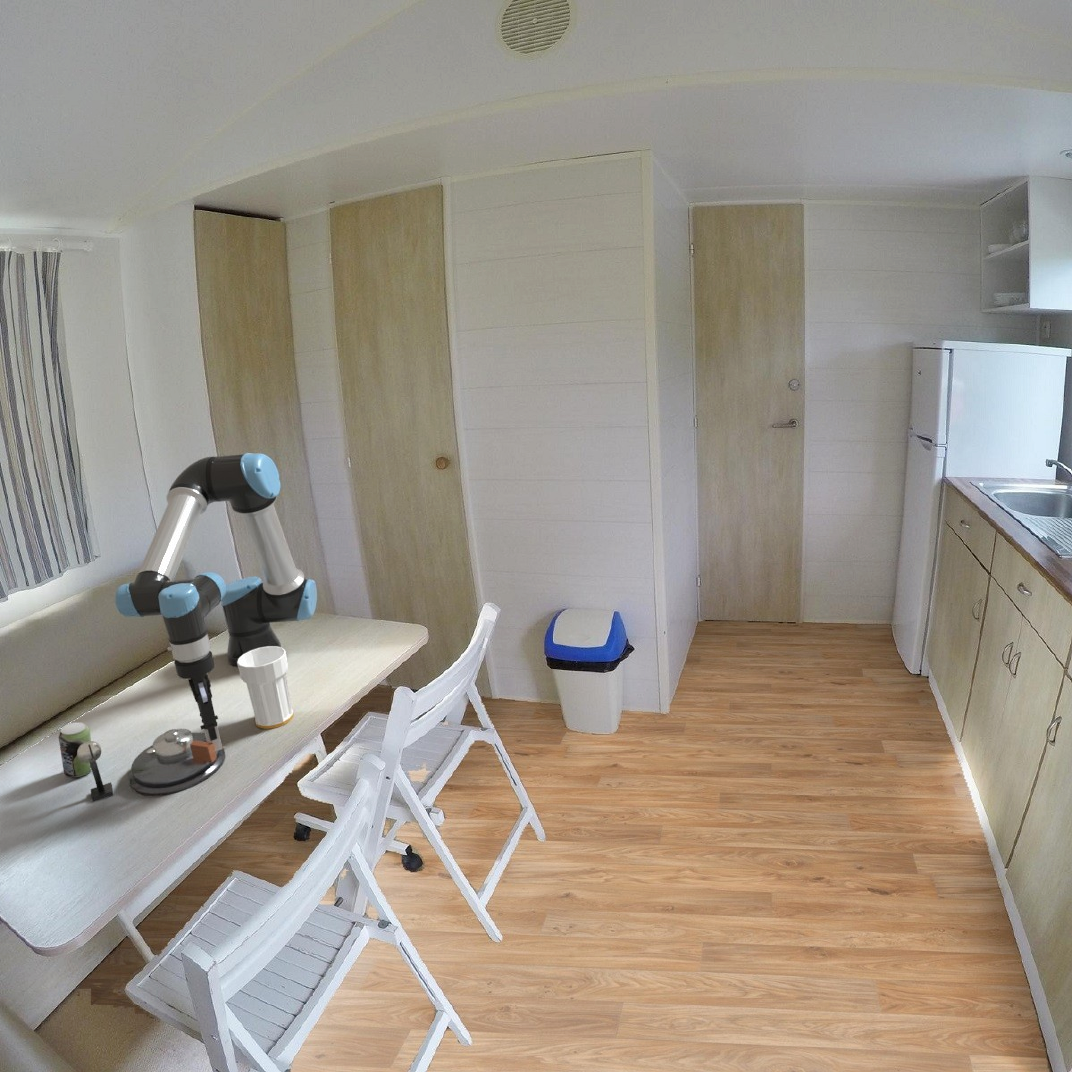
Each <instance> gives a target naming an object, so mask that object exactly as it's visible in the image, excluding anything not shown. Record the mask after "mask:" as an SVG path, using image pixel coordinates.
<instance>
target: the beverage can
mask: <svg viewBox="0 0 1072 1072" xmlns="http://www.w3.org/2000/svg"><path fill="white" fill-rule="evenodd" d="M90 731H91V730H90V728H89V727H88V726H87V724H86V723H84V722H82V721H81V722H80V721H79V722H78V721H77V722H76V721H75V722H70V723H67V724H66V725H63V726H62V727H61V729H60V732H59V734H58V741H59V749H60V755H61V761H62V762H61V763H62V768H63V773H64V775H65V776H68V777H70V778H81V777H83V776H86V775H87V774H89V773H90V772H92V769H91V766H90V763H83V762H81V761H80V760H79V759H78V756H77V751H78V748H79V747H80V746H81V745H82V744H83V743H85V742H89V741H92V739H91V738H92V737H91V732H90Z"/></svg>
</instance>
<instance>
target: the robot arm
mask: <svg viewBox="0 0 1072 1072" xmlns="http://www.w3.org/2000/svg"><path fill="white" fill-rule="evenodd" d="M280 491H281V480H280V473H279V470H278V467H277V466H276V464H275V462H274V461H273V459H271V457H269V456H268V455H266V454H264V453H252V452H246V453H244V454H230V455H221V456H219V455H218V456H206V457H203V458H201V459H198V460H197V461H194V462H193V463H192V464H190V465H189V466H188V467H186V468H185V469H184V470H182V472H181V473H180V474H178V476H177V477H176V479H175V480H174V481H173V483H172V484H171V486H170V488H169V490H168V491H167V495H166V502H167V506H166V508H165V510H164V513H163V515H162V517H161V520H160V522H159V525H158V526H157V529H156V531H155V533H154V535H153V538H152V541H151V543H150V545H149V548H148V550H147V552H146V555H145V556H144V558H143V560H142V563H141V567H140V568H139V571H138V573H137V574H136V577H135V579H134V581H133V582H128V583H125V584H122V585H121V586H119V587H118V588H117V590H116V592H115V596H114V602H115V608H116V610H117V611H118V612H119V614H121V615H122V616H124V617H125V618H143V617H149V616H152V617H153V616H162V619H163V623H164V627H165V630H166V634H167V638H168V642H169V646H167V651H169V652H170V651H171V654H172V657H173V659H174V662H173V663H174V666H175V671H176V673H177V674H176V675H177V677H179V678H180V679H182V680H183V679H184V680H187V681H188V684H189V687H190V691H191V692H192V695H193V698H194V701H195V702H196V703H197V707H198V712H199V717H200V718H201V723H202V725H200V729H201V731H204V732H203V733H205V736H206V740H207V742H209V743H213V745H214V749H215V751H218V750H221V749H223V748H224V746H223V744H222V740H221V739H222V738H221V737H220V736H221V735H220V732H219V728H218V721H217V720H219V717H218V715H216V713H215V709H214V705H213V701H212V698H213V694H212V689H211V687H212V684H211V681H210V678H209V676H208V674H210V673H211V672H212V671H213V670H214V669H215V665H216V664H215V661H214V660H215V659H214V657H213V653H212V651H211V649H212V647H211V643H210V638H209V635H208V631H207V628H206V624H205V623H206V622H205V618H206V617H207V615H209V614H210V612H211V611H212V610H213V609H215V608H216V607H217V606H218V605H220V603H221V605H220V606H221V607H222V610H223V615H224V619H225V623H226V624H225V625H226V627H227V628H226V629H227V632H228V644H227V651H226V657H227V661H228V664H229V665H231V666H234V667H238V665H237V661H238V658H240V657H241V656H242V655H243V654H245V653H247V652H249V651H251V650H254V649H257V648H261V647H267V646H277V647H281V648H282V646H281V645H282V644H281V641H280V639H279V638H278V636H277V635H276V633H275V631H274V630H273V628H272V626H271V623H283V622H299V621H304V620H305V621H306V620H310V619H311V618H312V617H313V616H314V614H315V611H316V608H317V602H318V601H317V599H318V591H317V585H316V582H315V580H313V579H312V578H311V579H310V578H308V579H306V577H305V574H304V572H303V571H302V570H301V569H300V568H296V564H295V561H294V559H293V556H292V554H291V551H290V547H289V545H288V541H287V538H286V537H285V534H284V533H285V532H284V531H283V530H284V529H283V527H282V524H281V522H280V519H279V516H278V513H277V510H276V508H275V504H276V501H277V498H278V495H279V494H280ZM215 502H217V503H218V502H220V503H222V502H229V503H230V506H231V509H232V511H234V512H235V513H237V514H239V515H241V518H242V520H243V522H244V525H245V528H246V531H247V533H248V536H249V539H250V541H251V544H252V547H253V548H254V551H255V552H254V553H255V554H256V557H257V559H258V562H259V565H260V568H261V570H262V572H263V575H264V580H262V579H261V578H260V577H259V576H248V577H244V578H241V579H237V580H235V581H232V582H230V583H229V584H226V582H225V580H224V578H223V577H222V576H221V575H219V574H217V573H216V572H211V571H206V572H205V571H204V572H202V573H199V574H198V575H196V576H195V577H194V578H188V579H187V578H186V579H177V580H176V579H175V578H176V575H177V573H178V570H179V568H180V565H181V562H182V560H183V558H184V555H185V553H186V550H187V547H188V545H189V542H190V540H191V538H192V534H193V532H194V530H195V527H196V524H197V522H198V519H199V517H200V515H203V514H204V513H205V512H206V511H207V508H208V506H209V505H210V504H213V503H215ZM222 746H223V747H222Z"/></svg>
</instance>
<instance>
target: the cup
mask: <svg viewBox="0 0 1072 1072" xmlns="http://www.w3.org/2000/svg"><path fill="white" fill-rule="evenodd" d="M237 665H238V666H237V668H238V671H239V675H240V676H239V677H240V679H241V680H242V682H243V683H245V684H246V686H247V691H248V694H249V698H250V702H251V706H252V710H253V714H254V717H255V719H254V720H255V721H254V722H255V725H256V727H257V728H260V729H265V730H266V729H267V730H271V729H276V728H280V727H282V726H285V725H286V724H287V723H289V722H290V721H291V720H292V719H293V718H294V710H293V708H292V703H291V698H290V692H289V685H288V679H287V673H288V669H289V664H288V659H287V652H286V649H284V648H283V647H282V646H281V647H277V646H267V647H261V648H257V649H254V650H251V651H249V652H247V653H245V654H243V655H242V656H241V657H240V658H238V661H237Z"/></svg>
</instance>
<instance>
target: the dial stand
mask: <svg viewBox="0 0 1072 1072" xmlns="http://www.w3.org/2000/svg"><path fill="white" fill-rule="evenodd" d="M101 755H102V747H101V745H100V744H99V743H98V742H96V741H92V740H91V741H89V742H85V743H83V744H82V745H81V746H80V747H79V748H78V751H77V756H78V759H79V760H80V761H81V762H83V763H90V766H91V769H92V770H91V772H92V776H93V779H94V782H95V785H96V787H93V788H91V789H90V799H91V802H92V803H95V802H97V801H100V800H104V799H106V798H109V797H112V796H114V789H113V784H112V782H111V781H110V782H108V783H103V780H102V777H101V774H100V770H99V766H98V763H97V760H99V759H100V757H101Z"/></svg>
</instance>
